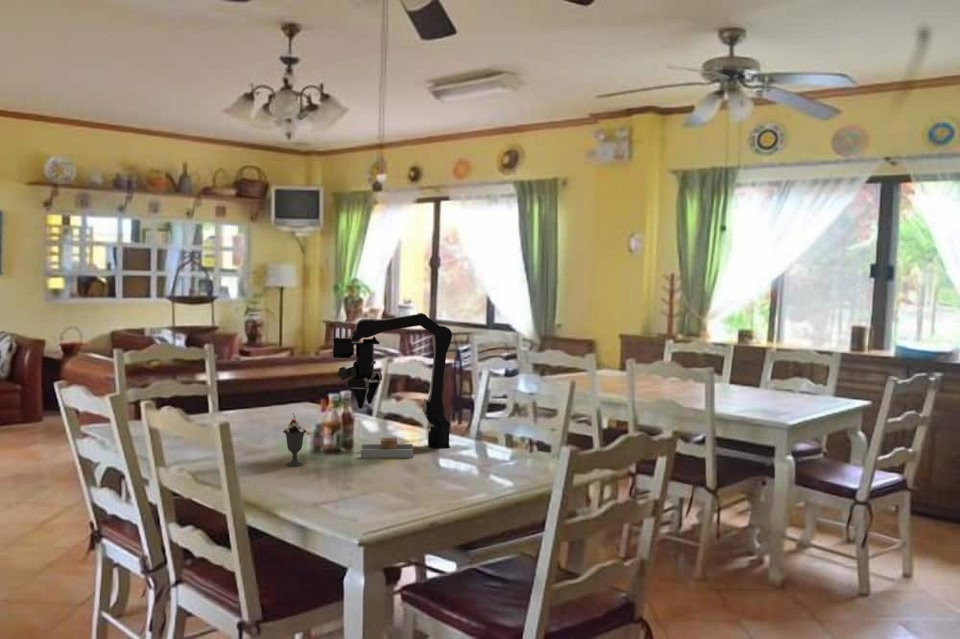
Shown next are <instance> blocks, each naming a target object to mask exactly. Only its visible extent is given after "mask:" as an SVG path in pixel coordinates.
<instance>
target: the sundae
mask: <svg viewBox="0 0 960 639" xmlns="http://www.w3.org/2000/svg"><path fill="white" fill-rule="evenodd" d="M292 415H293V418H292V419H291V421H290V422H289V424H288V426H287V428H285V429H284V430H283V433H284V434H285V438H286V444H287V449H288V451H289V453H290V452H291V454H292V459H291V461H290V462H286V464H285V466H287V467H293V468H296V467H301V466H304V463H303V462H301V461H299V460H298V456H297V455H298V453H299V452H300V451H301V450H302V447H303V443H304V442H303V441H304V435H305V434H306V433H307V430H306V429H305V428H302V427H301V425H300V423H299V422H298V420H296V415H295V413H292Z"/></svg>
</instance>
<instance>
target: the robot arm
mask: <svg viewBox="0 0 960 639" xmlns="http://www.w3.org/2000/svg"><path fill="white" fill-rule="evenodd" d="M419 326H420V327H421V328H423V329H425V330H426V331H428V332H429V333H430V334H431V338H432V347H433V348H432V349H433V360H432V369H431V380H430V391H429V394H428V398H427V399H425V398H423V408H422V411H421V412H422V413H423V415H424V418H425V419H426V420H427V421H428V422H429V424H431V425H430V427H429V430H428V431H427V434H428V435H427V444H428V445H429V448H450V447H451V446H450V427H451V422H450V421H449V420H448V418H446V416H445V410H444V409H445V408H444V401H443V390H444V381H445V380H444V378H445V370H446V361H447V360H446V359H447V353H448V351H449V348H450V346H451V343H452V338H453V333H452V330H451V329H450V328H449V327H447V326H446V325H439V323H437V322H435V321H434V320H432V319H431V318H429V317H428V316H427V314H425V313H423V312H419V313H417V314H410V315H404V316H397V317H396V316H395V317H391V318H385V319H384V318H383V319H381V318H380V319H378V318H362V319H359V320H358V321H357V322H356V324H355V330H354V331H353V333H352V334H350V335H351V336H349V337H337V336H335V337H332V340H333V341H332V342H333V343H332V344H333V345H332V359H333V360H335V359H337V360H339V359H351V358H352V357H353V356H354V354H355V361H353V364H352V366H350V367H346V366H345V365H344V366H342V367H339V368H338V371H337V377H338V378H340V381H345V380H346V379H348V380H347V381H346V387H347V388H348V390H350V391H351V392H352V393H353V394H354V396H355V400H356V403H357V406H358V409H360V410H362V409H363V408H364V405H365V403H366V401H367V404H368V405H371V404H372V403H373V401H374V398H375V396H376V394H377V391H378V389H379V387H380V385H381V381H383V374H382V373H381V372H380V371H375V364H376V362H377V361H376V360H375V358H374V357H375V356H374V355H375V351H374V349H375V348H374V346H375V345H380V344H381V343H380V341H379V340H378V339H377V338H376V336H377V335H379V334H381V333H385V332H387V331H394V330H399V329H406V328H413V327H419ZM371 337H372V338H371ZM361 339H362V341H360V340H361Z"/></svg>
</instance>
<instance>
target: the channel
mask: <svg viewBox="0 0 960 639" xmlns="http://www.w3.org/2000/svg"><path fill="white" fill-rule="evenodd" d="M413 446H414V445H413V443H397V449H381V443H361V449H360V458H361V459H362V458H364V459H370V458H371V459H372V458H373V459H374V458H375V459H378V458H382V459H385V458H386V459H387V458H389V459H391V458H392V459H394V458H396V459H397V458H398V459H401V458H402V459H406V458H407V459H408V458H409V459H412V458H413V459H414V448H413Z"/></svg>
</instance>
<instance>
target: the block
mask: <svg viewBox="0 0 960 639" xmlns="http://www.w3.org/2000/svg"><path fill="white" fill-rule="evenodd" d="M380 444H381V449H397V444H398V438H397V437H380Z"/></svg>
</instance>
